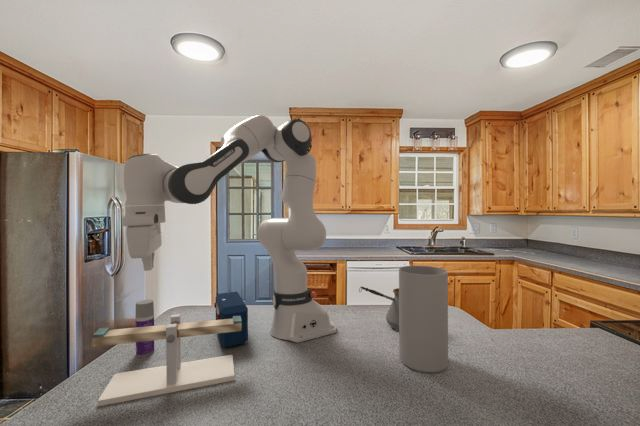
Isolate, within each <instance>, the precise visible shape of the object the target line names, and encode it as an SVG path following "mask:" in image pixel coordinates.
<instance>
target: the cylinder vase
mask: <svg viewBox="0 0 640 426" xmlns="http://www.w3.org/2000/svg"><path fill="white" fill-rule="evenodd" d="M448 272H449V271H448V270H446V269H445V268H442V267H441V268H440V267H438V266H428V265H404V266H400V267H399V268H398V288H399V330H398V333H399V338H398V341H399V342H398V343H399V344H398V345H399V347H398V350H399V351H398V352H399V354H398V355H399V359H400V361H401V363H403V364H404V365H405V366H406V367H408V368H410V369H412V370H413V371H417V372H421V373H427V374H432V373H439V372H442V371H444V370H445V369H447V368H448V366H449V273H448Z"/></svg>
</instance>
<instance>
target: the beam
mask: <svg viewBox="0 0 640 426" xmlns="http://www.w3.org/2000/svg"><path fill="white" fill-rule="evenodd" d="M170 324H177V338H180V337H181V338H187V337H197V336H206V335H214V334H215V335H218V333H226V332H236V331H241V325H242V320H241V316H233V319H222V320H216V319H212V320H203V321H201V320H200V321H191V322H190V321H189V322H180V323H178V322H173V323H171V322H170ZM167 325H168V324H159V325H154V326H146V327H136V326H135V327H128V328H127V327H126V328H125V327H124V328H116V329H114V328H113V329H110V328H111V327H100V328H98V329H97V330H96V331H95V332H94V333H93V334H92V343H91V347H93V348H95V347H96V348H97V347H103V346H112V345H122V344H123V345H124V344H132V343H136V342H142V341H152V340H154V341H158V340H159V341H160V340H166V327H167Z"/></svg>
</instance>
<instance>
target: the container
mask: <svg viewBox="0 0 640 426" xmlns="http://www.w3.org/2000/svg"><path fill="white" fill-rule="evenodd" d="M154 305H155V304H154V300H153V299H142V300H139V301H137V302H135V320H134V322H135V324H134V325H135V328H136V327H146V326H155V309H154ZM154 352H155V340H152V341H142V342H135V356H136V357H138V358H140V357H147V356H151V355H152V354H153V353H154Z"/></svg>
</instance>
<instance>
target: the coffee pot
mask: <svg viewBox="0 0 640 426" xmlns="http://www.w3.org/2000/svg"><path fill="white" fill-rule="evenodd" d="M358 289H359V290H358V292H359V293H361V292H362V290H364V291H366V292H369V293H371V294H373V295H376V296H379V297H382V298H386V299H388V300H390V301H391V304H390V306H389V309H388V311H387V313H386V316H385V320H386V322H387V324H388V325H389V326H390V328H392V329H393V330H395V331H399V287H397V288H394V289H393V290H392V292H393V293H394V297H392V296H388V295H387V294H386V295H385V294H384V293H382V292H379V291H376V290H374V289H371V288H368V287H364V286H360V287H359V288H358Z"/></svg>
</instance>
